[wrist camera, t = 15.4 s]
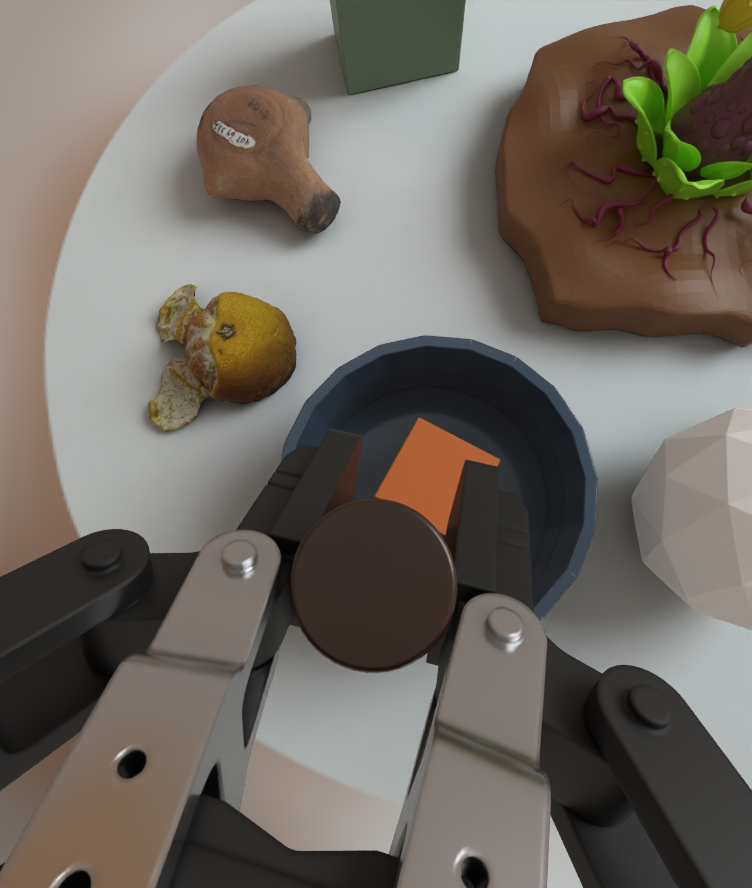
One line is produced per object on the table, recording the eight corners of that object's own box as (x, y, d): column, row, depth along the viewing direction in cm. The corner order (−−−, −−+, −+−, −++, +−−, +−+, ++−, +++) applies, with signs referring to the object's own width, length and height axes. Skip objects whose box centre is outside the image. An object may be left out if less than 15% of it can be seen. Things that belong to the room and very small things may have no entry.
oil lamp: (215, 259, 30) (346, 246, 30) (187, 226, 26) (338, 209, 26) (206, 120, 31) (334, 105, 30) (178, 67, 27) (324, 49, 26)
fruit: (160, 294, 29) (125, 259, 25) (300, 287, 28) (285, 249, 25) (150, 433, 27) (111, 416, 24) (299, 427, 27) (282, 409, 23)
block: (449, 543, 24) (457, 543, 21) (379, 503, 25) (373, 496, 21) (487, 473, 25) (501, 459, 21) (417, 436, 26) (418, 416, 22)
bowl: (330, 649, 24) (305, 682, 19) (290, 408, 27) (257, 370, 21) (583, 599, 24) (639, 617, 18) (517, 360, 27) (548, 308, 21)
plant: (472, 67, 31) (507, -199, 20) (798, 23, 30) (1026, -281, 19) (519, 372, 27) (597, 251, 16) (900, 333, 26) (1266, 174, 15)
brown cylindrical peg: (355, 620, 15) (284, 718, 7) (338, 525, 16) (253, 499, 7) (449, 602, 15) (503, 675, 7) (429, 507, 16) (453, 459, 7)
